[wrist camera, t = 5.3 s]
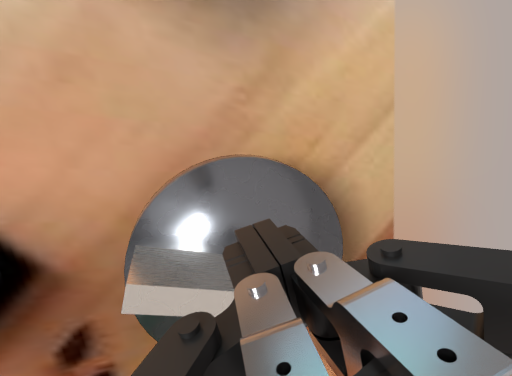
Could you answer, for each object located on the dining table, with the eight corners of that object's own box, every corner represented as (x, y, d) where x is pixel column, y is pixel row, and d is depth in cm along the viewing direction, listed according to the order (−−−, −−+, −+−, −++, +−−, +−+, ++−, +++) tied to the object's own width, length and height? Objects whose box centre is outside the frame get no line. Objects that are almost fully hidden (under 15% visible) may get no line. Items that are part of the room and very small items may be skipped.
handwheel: (356, 177, 26) (414, 198, 20) (304, 348, 30) (340, 412, 23) (148, 131, 21) (139, 142, 15) (111, 346, 24) (91, 428, 18)
